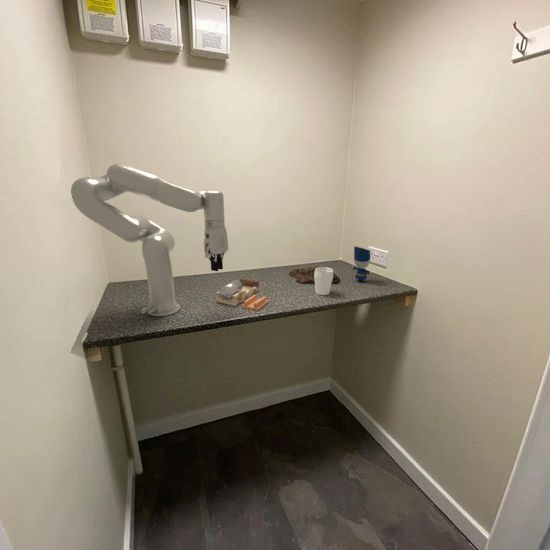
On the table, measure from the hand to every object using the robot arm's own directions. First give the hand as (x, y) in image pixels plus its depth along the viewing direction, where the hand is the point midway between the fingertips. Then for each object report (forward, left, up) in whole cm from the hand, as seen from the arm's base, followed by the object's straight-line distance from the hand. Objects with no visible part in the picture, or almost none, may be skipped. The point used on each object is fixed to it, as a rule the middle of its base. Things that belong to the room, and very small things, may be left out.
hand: (217, 269), depth 116 cm
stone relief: (+60, -23, -18) cm, 67 cm away
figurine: (+64, -47, -17) cm, 81 cm away
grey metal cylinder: (+10, 0, -15) cm, 18 cm away
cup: (+38, -34, -17) cm, 54 cm away
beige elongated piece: (+16, 0, -17) cm, 23 cm away
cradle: (+10, -12, -17) cm, 23 cm away
